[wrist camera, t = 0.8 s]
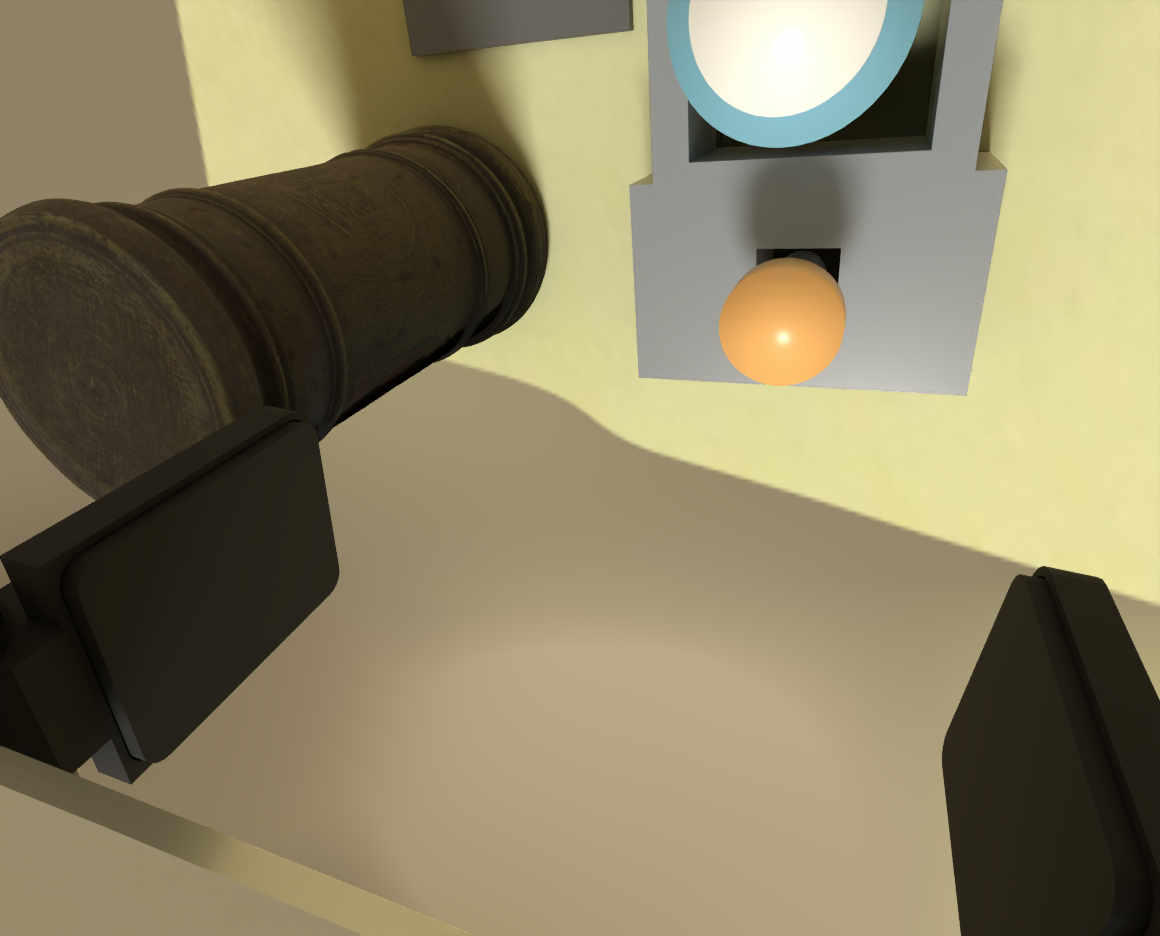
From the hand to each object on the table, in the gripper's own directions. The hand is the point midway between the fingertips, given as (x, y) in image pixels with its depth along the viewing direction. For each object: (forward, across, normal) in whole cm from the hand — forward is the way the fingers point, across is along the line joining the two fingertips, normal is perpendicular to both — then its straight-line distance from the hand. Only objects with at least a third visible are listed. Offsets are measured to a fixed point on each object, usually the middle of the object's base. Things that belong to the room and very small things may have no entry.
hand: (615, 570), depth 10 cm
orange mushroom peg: (+19, -1, 0) cm, 19 cm away
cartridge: (+21, 0, -7) cm, 23 cm away
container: (+22, +14, +1) cm, 26 cm away
